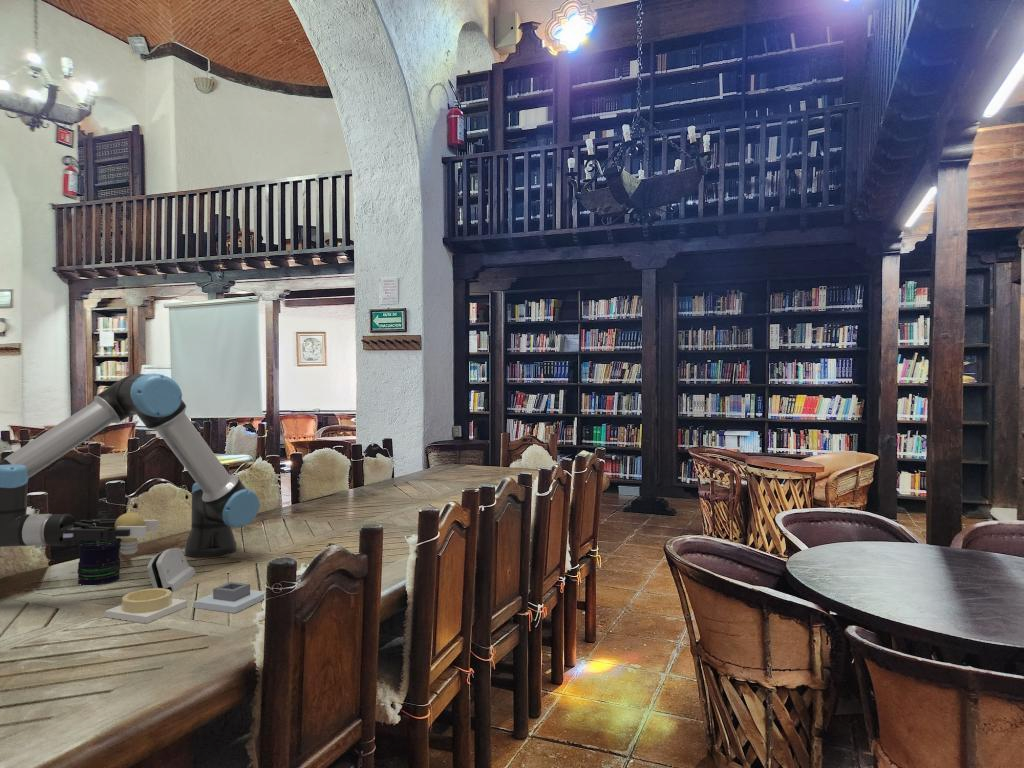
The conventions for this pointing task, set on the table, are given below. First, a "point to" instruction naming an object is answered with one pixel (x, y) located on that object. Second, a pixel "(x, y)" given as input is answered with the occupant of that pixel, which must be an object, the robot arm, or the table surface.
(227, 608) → the square socket
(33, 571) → the table surface
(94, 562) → the storage jar
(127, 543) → the light bulb
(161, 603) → the round socket
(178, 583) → the white curved block
